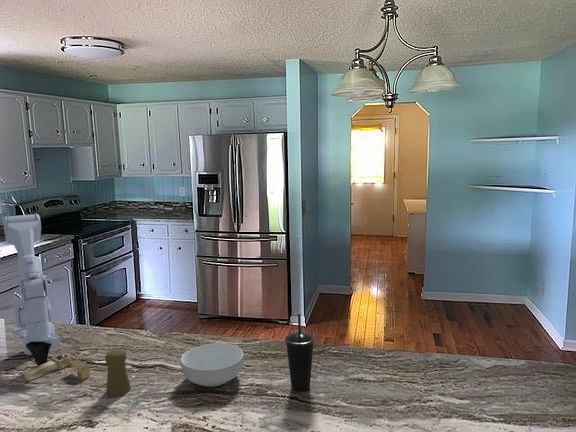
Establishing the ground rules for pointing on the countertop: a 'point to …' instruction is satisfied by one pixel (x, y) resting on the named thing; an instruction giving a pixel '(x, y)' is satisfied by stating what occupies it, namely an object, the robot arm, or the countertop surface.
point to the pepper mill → (117, 373)
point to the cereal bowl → (212, 364)
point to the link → (48, 367)
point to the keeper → (81, 369)
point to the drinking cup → (300, 358)
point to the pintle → (61, 356)
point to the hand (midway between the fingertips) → (41, 364)
